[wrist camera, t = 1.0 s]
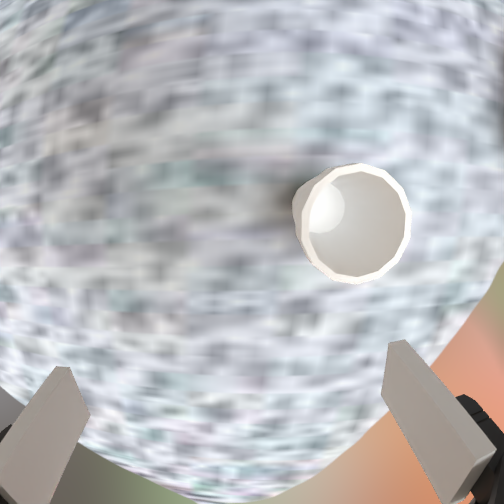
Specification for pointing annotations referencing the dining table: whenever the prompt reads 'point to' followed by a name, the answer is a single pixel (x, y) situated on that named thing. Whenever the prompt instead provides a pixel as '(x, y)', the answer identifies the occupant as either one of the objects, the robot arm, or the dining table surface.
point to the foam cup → (352, 222)
